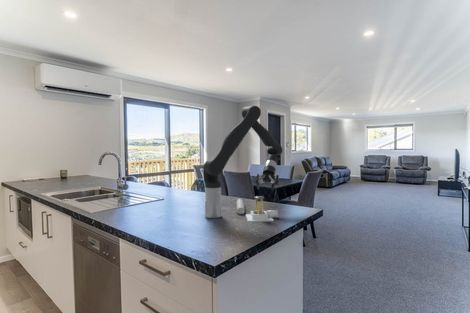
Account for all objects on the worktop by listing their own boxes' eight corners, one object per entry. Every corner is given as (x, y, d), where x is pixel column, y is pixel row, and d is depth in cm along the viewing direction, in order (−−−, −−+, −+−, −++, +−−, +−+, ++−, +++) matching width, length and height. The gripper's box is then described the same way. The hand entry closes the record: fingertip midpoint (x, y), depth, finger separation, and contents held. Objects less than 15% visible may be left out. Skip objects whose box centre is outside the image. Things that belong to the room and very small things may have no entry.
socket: (247, 221, 141) (247, 213, 141) (245, 215, 155) (245, 208, 155) (280, 221, 142) (280, 213, 142) (274, 214, 156) (274, 207, 156)
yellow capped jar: (254, 218, 146) (254, 197, 146) (253, 215, 151) (253, 196, 151) (264, 218, 146) (264, 197, 146) (263, 215, 152) (263, 196, 151)
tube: (246, 208, 156) (244, 199, 181) (237, 205, 156) (237, 197, 181) (243, 217, 156) (242, 207, 181) (235, 214, 156) (235, 204, 181)
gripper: (258, 164, 167) (252, 184, 157) (280, 165, 162) (275, 185, 151) (260, 172, 172) (254, 192, 162) (281, 173, 167) (277, 193, 156)
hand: (264, 189), depth 157 cm, fingers open, 8 cm apart
